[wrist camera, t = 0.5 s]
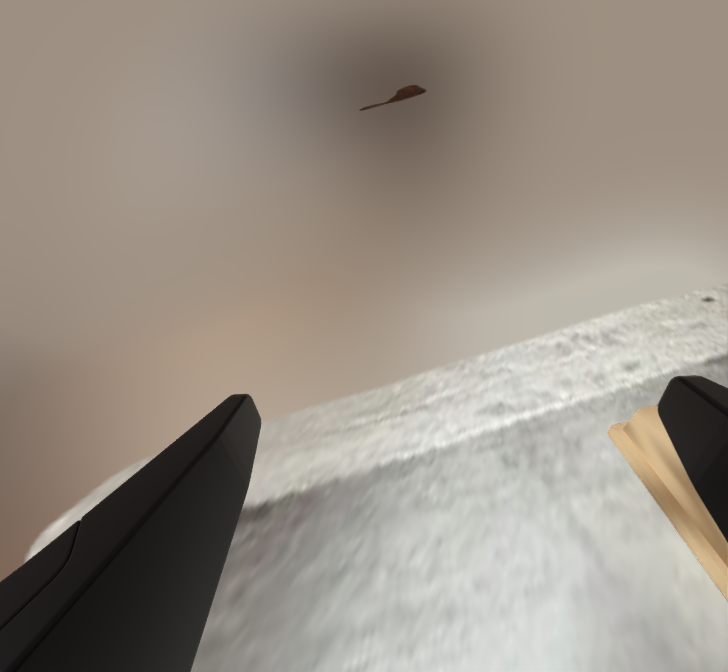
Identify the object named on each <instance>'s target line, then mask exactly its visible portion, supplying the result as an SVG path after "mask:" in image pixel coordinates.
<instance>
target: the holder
mask: <svg viewBox="0 0 728 672" xmlns="http://www.w3.org/2000/svg"><path fill="white" fill-rule="evenodd" d="M607 434H608V435H609V436H610V438H611V439H612V441H613V442H614V443H615V445H616V446H617V448H618V449H619V450H620V452H621V453H622V455H623V456H624V457H625V459H626V460H627V461H628V463H629V464H630V466H631V467H632V468H633V470H634V471H635V473H636V474H637V475H638V477H639V478H640V480H641V481H642V482H643V484H644V485H645V486H646V488H647V489H648V491H649V492H650V493H651V495H652V496H653V498H654V499H655V500H656V502H657V503H658V505H659V506H660V507H661V509H662V510H663V511H664V513H665V514H666V516H667V517H668V518H669V520H670V521H671V523H672V524H673V525H674V527H675V528H676V530H677V531H678V532H679V534H680V535H681V536H682V538H683V539H684V541H685V542H686V543H687V545H688V546H689V548H690V549H691V550H692V552H693V553H694V555H695V556H696V557H697V559H698V560H699V561H700V563H701V564H702V566H703V567H704V568H705V570H706V571H707V573H708V574H709V575H710V577H711V578H712V580H713V581H714V582H715V584H716V585H717V586H718V588H719V589H720V591H721V592H722V593H723V595H724V596H725V598H726V599H727V600H728V543H727V541H726V540H725V538H724V536H723V535H722V533H721V532H720V530H719V528H718V527H717V525H716V523H715V522H714V520H713V519H712V517H711V515H710V514H709V512H708V510H707V509H706V507H705V506H704V504H703V502H702V501H701V499H700V497H699V496H698V494H697V492H696V490H695V489H694V487H693V485H692V483H691V481H690V479H689V477H688V476H687V474H686V471H685V469H684V467H683V465H682V463H681V461H680V459H679V457H678V455H677V453H676V451H675V449H674V446H673V444H672V442H671V440H670V438H669V436H668V434H667V432H666V430H665V428H664V426H663V424H662V421H661V419H660V417H659V414H658V405H654V406H649V407H645V408H640V409H639V410H638V411H637V413H636V414H635V415H634V416H633V417H632V419H631V420H630V421H628V422H624V423H619V424H615V425H612V426H611V427H610V429H609V430H608V431H607Z"/></svg>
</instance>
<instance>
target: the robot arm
mask: <svg viewBox="0 0 728 672" xmlns="http://www.w3.org/2000/svg"><path fill="white" fill-rule="evenodd" d="M658 414H659V417H660V419H661V421H662V424H663V426H664V428H665V430H666V432H667V434H668V436H669V438H670V440H671V442H672V444H673V446H674V449H675V451H676V453H677V455H678V457H679V459H680V461H681V463H682V465H683V467H684V469H685V471H686V474H687V476H688V477H689V479H690V481H691V483H692V485H693V487H694V489H695V490H696V492H697V494H698V496H699V497H700V499H701V501H702V502H703V504H704V506H705V507H706V509H707V510H708V512H709V514H710V515H711V517H712V519H713V520H714V522H715V523H716V525H717V527H718V528H719V530H720V532H721V533H722V535H723V536H724V538H725V540H726V541H727V543H728V388H726V387H724V386H722V385H719V384H717V383H715V382H713V381H711V380H709V379H707V378H704V377H702V376H696V375H692V376H676V377H674V378H672V379H671V380H670V382H669V384H668V385H667V387H666V389H665V391H664V393H663V395H662V397H661V399H660V401H659V403H658ZM260 429H261V418H260V415H259V413H258V411H257V409H256V406H255V404H254V402H253V399H252V397H251V396H250V395H248V394H234V395H231V396H230V397H228V398H227V399H226V400H224V402H222V403H221V404H220V405H218V406H217V407H216V408H215V409H214V410H213V411H212V412H210V413H209V414H207V415H206V416H205V417H204V418H203V419H201V420H200V421H199V422H198V423H197V424H195V425H194V426H193V427H192V428H190V429H189V430H188V431H187V432H186V433H184V434H183V435H182V436H181V437H179V438H178V439H177V440H176V441H175V442H173V443H172V444H171V445H170V446H168V447H167V448H166V449H165V450H163V451H162V452H161V453H160V454H159V455H157V456H156V457H155V458H154V459H153V460H151V461H150V462H149V463H148V464H146V465H145V466H144V467H143V468H142V469H140V470H139V471H138V472H137V473H135V474H134V475H133V476H132V477H131V478H129V479H128V480H127V481H126V482H124V483H123V484H122V485H121V486H120V487H118V488H117V489H116V490H115V491H113V492H112V493H111V494H110V495H109V496H107V497H106V498H105V499H104V500H102V501H101V502H100V503H99V504H98V505H96V506H95V507H94V508H93V509H91V510H90V511H89V512H88V513H87V514H85V515H84V516H83V517H82V519H81V521H77V522H75V523H74V524H73V525H72V526H71V527H69V528H68V529H67V530H66V531H65V532H63V533H62V534H61V535H60V536H58V537H57V538H56V539H55V540H53V541H52V542H51V543H50V544H48V545H47V546H46V547H45V548H43V549H42V550H41V551H40V552H38V553H37V554H36V555H35V556H33V557H32V558H31V559H30V560H28V561H27V562H26V563H25V564H23V565H22V566H21V567H19V568H18V569H17V570H15V571H14V572H13V573H11V574H10V575H9V576H8V577H6V578H5V579H4V580H2V581H1V582H0V672H191V668H192V665H193V662H194V659H195V656H196V653H197V649H198V646H199V643H200V640H201V637H202V634H203V630H204V627H205V624H206V621H207V618H208V615H209V611H210V608H211V605H212V602H213V599H214V596H215V592H216V589H217V586H218V583H219V580H220V577H221V573H222V570H223V567H224V564H225V561H226V558H227V554H228V551H229V548H230V545H231V542H232V539H233V535H234V532H235V529H236V526H237V523H238V520H239V516H240V513H241V510H242V507H243V504H244V500H245V497H246V494H247V490H248V487H249V482H250V478H251V473H252V468H253V463H254V458H255V454H256V449H257V444H258V439H259V434H260Z"/></svg>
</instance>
